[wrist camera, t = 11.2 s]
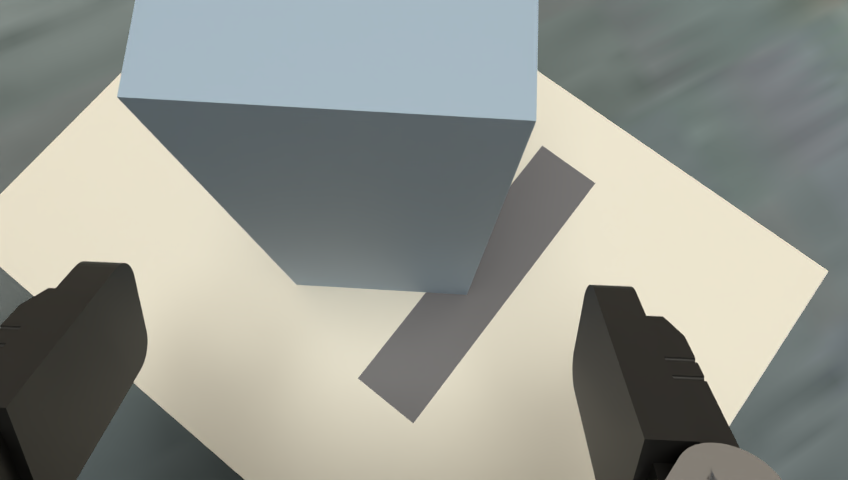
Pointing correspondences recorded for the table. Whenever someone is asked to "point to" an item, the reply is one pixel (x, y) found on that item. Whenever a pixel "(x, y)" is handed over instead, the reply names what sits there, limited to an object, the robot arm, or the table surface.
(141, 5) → the slate pillar
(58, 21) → the table surface
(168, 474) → the table surface
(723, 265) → the letter board
